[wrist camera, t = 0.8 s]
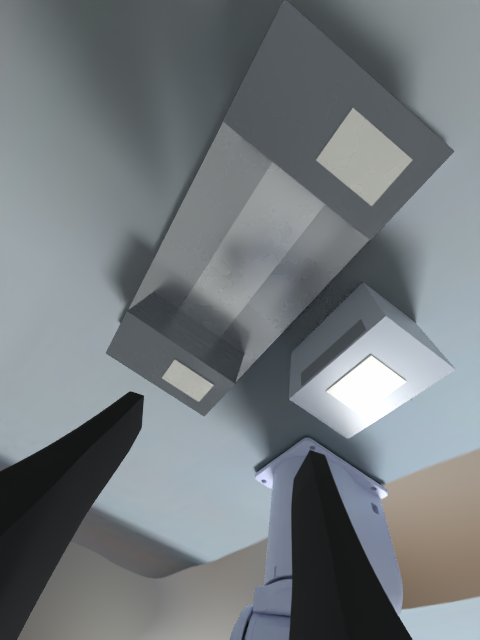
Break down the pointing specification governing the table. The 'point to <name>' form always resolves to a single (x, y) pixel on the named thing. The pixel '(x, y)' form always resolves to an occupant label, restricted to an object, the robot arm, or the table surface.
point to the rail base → (273, 212)
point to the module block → (363, 363)
